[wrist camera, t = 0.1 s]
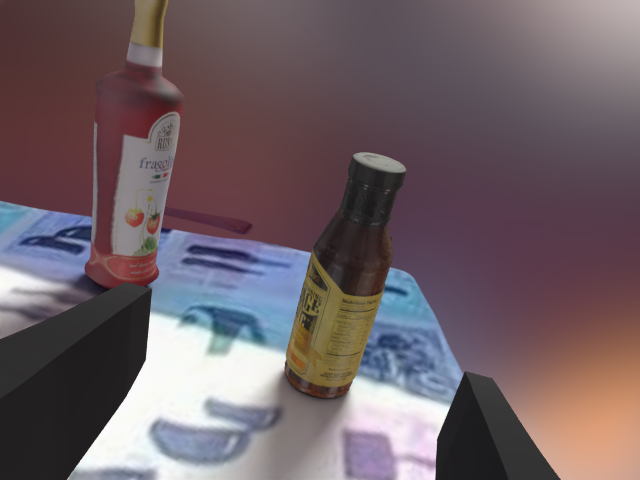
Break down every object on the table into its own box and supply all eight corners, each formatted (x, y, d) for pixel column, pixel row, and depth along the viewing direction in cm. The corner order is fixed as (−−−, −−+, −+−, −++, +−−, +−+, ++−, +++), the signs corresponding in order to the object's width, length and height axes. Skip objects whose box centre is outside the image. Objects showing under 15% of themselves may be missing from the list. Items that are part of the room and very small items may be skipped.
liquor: (122, 309, 51) (158, -22, 41) (63, 278, 54) (83, -42, 43) (174, 283, 58) (217, -9, 47) (120, 257, 60) (149, -27, 50)
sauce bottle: (283, 351, 51) (335, 138, 44) (350, 364, 52) (413, 156, 44) (278, 398, 45) (337, 160, 38) (354, 412, 46) (427, 180, 38)
